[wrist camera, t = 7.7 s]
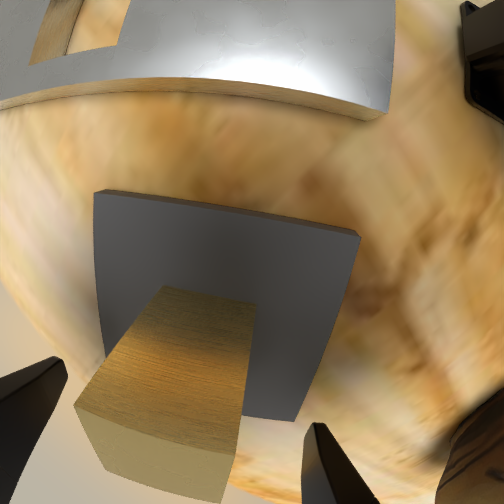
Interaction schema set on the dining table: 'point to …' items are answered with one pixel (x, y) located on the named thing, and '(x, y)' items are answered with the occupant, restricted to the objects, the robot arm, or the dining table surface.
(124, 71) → the metal plate
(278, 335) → the rubber mat
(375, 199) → the dining table surface
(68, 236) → the dining table surface
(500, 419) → the ceramic jug
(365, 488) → the robot arm
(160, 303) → the brass block
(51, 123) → the dining table surface
